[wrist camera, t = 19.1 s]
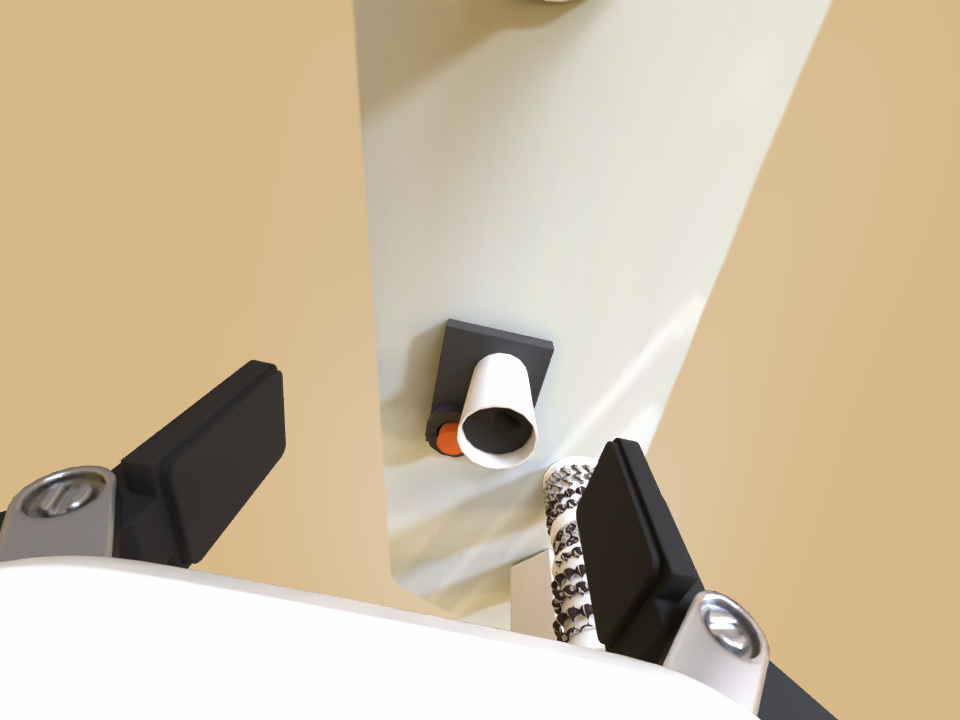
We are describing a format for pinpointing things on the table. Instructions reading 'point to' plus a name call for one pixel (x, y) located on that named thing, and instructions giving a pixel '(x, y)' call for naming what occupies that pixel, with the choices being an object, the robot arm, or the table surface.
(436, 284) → the table surface
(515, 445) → the white cup
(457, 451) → the tare button
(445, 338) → the scale
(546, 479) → the decorative candle
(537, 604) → the milk carton
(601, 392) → the table surface
